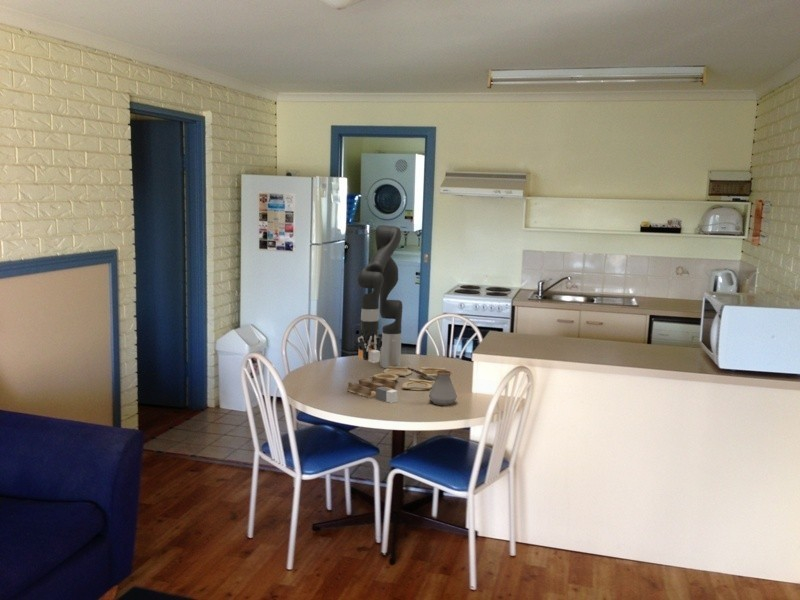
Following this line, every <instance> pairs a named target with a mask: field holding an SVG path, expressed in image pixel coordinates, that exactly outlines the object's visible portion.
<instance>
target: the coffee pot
mask: <svg viewBox="0 0 800 600" xmlns="http://www.w3.org/2000/svg"><path fill="white" fill-rule="evenodd" d="M406 367H407V369H406V370H408V369H409V370H411V371H412V372H413V373H415V374H417V375H420V376H422V375H423V376H426V377H429V378H431V379H430V380H434V382H433V384H432V388H430V391H429V393H428V398H429V399H430V400H431V401H432V402H433V404H435V405H438V406H448V405H449V406H450V405H452V404H453V402H456V399H457V398H458V395H457V393H456V389H455V388H454V384H453V382H452V380H451V375H452V371H450V370H447V369H446V370H439V371H436V374H437V378H434V377H432V376H429V375H427V374H425V373H422V372H420V371H419V370H417V369H415V368H412V369H411V368H409V367H410V366H406ZM406 372H407V371H406ZM423 376H422V377H423Z"/></svg>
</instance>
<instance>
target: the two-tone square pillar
mask: <svg viewBox="0 0 800 600" xmlns="http://www.w3.org/2000/svg"><path fill="white" fill-rule="evenodd" d="M398 396H399V391H398V390H397V389H396V390H393V389H389V388H386V387H378V388H376V397H375V399H376V400H379V399H380V400H379V401H382V400H383V401H382V402H385V401H386V403H389V402H390V403H389V404H394V403H397V401H398V398H399V397H398ZM393 402H394V403H393Z"/></svg>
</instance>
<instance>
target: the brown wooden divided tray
mask: <svg viewBox="0 0 800 600" xmlns="http://www.w3.org/2000/svg"><path fill="white" fill-rule="evenodd" d="M347 383H348V384H347V386H348V387H347V390H346V391H347V392H348V391H350V392H349V393H351V392H353V393H352V394H354V393H356V394H355V395H358V394H360V395H359V396H361V395H363V396H362V397H364V396H366V397H365V398H368V397H369V398H368V399H373V397H374V398H376V388H378V387H386V388H389V389H393V390H396V391H397V389H396V381H395V380H394V381H390V380H386V379H382V378H379V377H375V376H374V375H372V378H371V379H370V380H369V379H366V378H362V379H358V384H356V383H353V382H351V381H350V382H347Z"/></svg>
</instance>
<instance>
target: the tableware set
mask: <svg viewBox="0 0 800 600" xmlns="http://www.w3.org/2000/svg"><path fill="white" fill-rule="evenodd" d="M407 367H409V368H411V369H413V367H412V366H400V367H392V366H387V368H388V369H386V368H384V370H383V371H382V373H375V374H374V375H372V376H375V377H379V378H382V379H386V380H390V381H394V382H395V381H397V380H399V377H407V376H410V375H411V374H412V373H413V371H411V370H409V369H408V370H406V369H407ZM439 370H446V371H447V368H446V367H428V366H421V367H420V369H419V370H418V371H420V372H422V373H425V374H427V375H429V376H432V377H434V378H437V374H436V371H439ZM395 371H396V372H395ZM401 371H403V372H401ZM406 371H407V372H406ZM392 372H393V373H392ZM404 372H406V373H404ZM372 376H371V375H370V376H369V379H372ZM421 376H422V378H423V377H424V378H423V379H418V378H409V379H408V381H406V382H404V383H402V387H401V388H402V389H406V390H409V389H410V390H409V391H426V390H431V389H432V387H433V384H434V381H429V380H432V379H431V378H429V377H426V376H423V375H421ZM425 378H427V379H425ZM413 383H420V384H425V385H426V386H427V387H412V386H408V385H409V384H413Z"/></svg>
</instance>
